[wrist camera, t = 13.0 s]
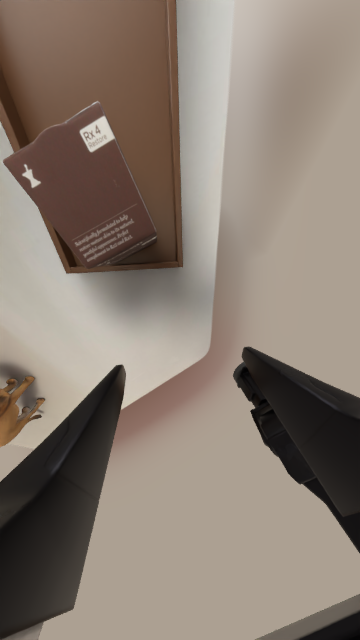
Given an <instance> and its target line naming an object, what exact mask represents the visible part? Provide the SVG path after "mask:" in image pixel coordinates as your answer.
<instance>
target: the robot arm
mask: <svg viewBox="0 0 360 640" xmlns="http://www.w3.org/2000/svg"><path fill="white" fill-rule="evenodd" d="M242 358H243V361H244V363H245V364H246V366H244V367H242V369H241V373H240V377H239V380H238V384H237V386H238V388H241V389H242V391H243V392H244V394H245V396H246V397H247V399H248V400H249V401H251V402H252V403H253V405H254V406H255V409H252V410H251V411H250V412H251V414H252V417H253V419H254V422H255V423H256V426H257V428H258V430H259V432H260V434H261V437H262V440H263V442H264V444H265V445H266V446H268V447H269V448H270V450H271V451H272V452H273V453H274V454H275V455H276V456H277V457H279V458H280V460H281V461H282V463H283V465H284V467H285V468H286V470H287V472H288V474H289V475H290V476H291V477H292V478H293V479H294V480H295V481H296V482H298V483H299V484H303V485H304V486H306V487H307V488H308V489H309V490H310V491H311V492H312V493H314V494H315V495H316V496H317V497H318V498H320V499H321V500H322V501H323V502H324V503H325V504H326V505H327V506H328V508H329V509H330V511H331V512H332V514H333V515H334V516H335V518H336V519H337V521H338V522H339V524H340V525H341V527H342V528H343V530H344V531H345V533H346V534H347V535H348V537H349V538H350V540H351V541H352V543H353V544H354V546H355V547H356V549H357V550H358V552H359V553H360V398H359V397H356V396H354V395H352V394H349V393H347V392H345V391H343V390H340V389H338V388H335V387H333V386H331V385H329V384H326V383H324V382H322V381H319V380H318V379H316V378H314V377H312V376H310V375H307V374H305V373H303V372H301V371H299V370H297V369H295V368H293V367H291V366H289V365H286V364H285V363H282V362H280V361H278V360H276V359H274V358H272V357H270V356H268V355H266V354H264V353H262V352H260V351H258V350H256V349H253V348H251V347H244V349H243V352H242ZM125 379H126V372H125V369H124V366H123V365H116V366H115V367H114V368H113V369H112V370H111V371H110V372H109V373H108V374H107V376H106V377H105V378H104V379H103V380H102V381H101V382H100V383H99V384H98V385H97V386H96V387H95V388H94V389H93V390H92V391H91V392H90V393H89V394H88V395H87V397H86V398H85V399H84V400H83V401H82V402H81V403H80V404H79V405H78V406H77V407H76V408H75V409H74V410H73V411H72V412H71V413H70V414H69V416H68V417H66V419H65V420H64V421H63V422H62V423H61V424H60V425H59V426H58V427H57V428H56V429H55V430H54V431H53V432H52V433H51V434H50V435H49V436H48V437H47V438H46V439H45V440H44V441H43V442H42V443H41V444H40V445H39V446H38V447H37V448H36V449H35V450H34V451H32V452H31V454H29V455H28V456H27V457H26V458H25V459H24V460H23V461H22V462H21V463H20V464H19V465H18V466H17V467H16V468H15V469H13V470H12V471H11V472H10V473H9V474H8V475H7V476H6V477H5V478H4V479H3V480H2V481H1V482H0V640H38V638H39V635H40V632H41V629H42V625H43V622H44V621H47V620H49V619H51V618H54V617H56V616H58V615H61V614H63V613H66V612H68V611H70V610H72V609H73V608H74V605H75V600H76V597H77V593H78V589H79V584H80V580H81V575H82V572H83V567H84V563H85V559H86V554H87V550H88V546H89V542H90V537H91V533H92V529H93V525H94V521H95V516H96V512H97V508H98V504H99V498H100V494H101V490H102V486H103V482H104V478H105V473H106V469H107V465H108V461H109V456H110V452H111V448H112V444H113V439H114V435H115V431H116V427H117V422H118V418H119V414H120V410H121V405H122V401H123V395H124V387H125ZM256 640H360V594H359V595H356V596H354V597H352V598H349V599H347V600H345V601H343V602H340V603H338V604H336V605H333V606H331V607H329V608H327V609H324V610H322V611H320V612H317V613H315V614H313V615H310V616H308V617H306V618H304V619H301V620H299V621H297V622H295V623H292V624H290V625H288V626H285V627H283V628H281V629H278V630H276V631H274V632H272V633H269V634H267V635H265V636H262V637H260V638H258V639H256Z"/></svg>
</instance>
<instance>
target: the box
mask: <svg viewBox="0 0 360 640" xmlns="http://www.w3.org/2000/svg"><path fill="white" fill-rule="evenodd" d="M3 163H4V165H5V166H6V167H7V168H8V170H9V171H10V172H11V174H12V175H13V176H14V177H15V179H16V180H17V181H18V182H19V184H20V185H21V186H22V187H23V189H24V190H25V191H26V192H27V194H28V195H29V196H30V198H31V199H32V200H33V201H34V203H35V204H36V205H37V206H38V208H39V209H40V210H41V212H42V213H43V214H44V215H45V216H46V218H47V219H48V220H49V222H50V223H51V224H52V226H53V227H54V228H55V229H56V231H57V232H58V233H59V234H60V236H61V237H62V238H63V240H64V241H65V242H66V243H67V245H68V246H69V247H70V249H71V250H72V251H73V252H74V254H75V255H76V256H77V258H78V259H79V260H80V261H81V263H82V264H83V265H84V266H85V268H86V269H91V268H94V267H99V266H105V265H110V264H115V263H118V262H120V261H122V260H123V259H126V258H127V257H129V256H132V255H134V254H135V253H137V252H139V251H141V250H143V249H145V248H147V247H148V246H150V245H152V244H154V243H156V242H157V234H156V228H155V226H154V223H153V221H152V218H151V216H150V214H149V212H148V209H147V207H146V205H145V203H144V200H143V198H142V196H141V194H140V191H139V189H138V187H137V185H136V182H135V180H134V178H133V175H132V173H131V171H130V168H129V166H128V164H127V162H126V159H125V157H124V155H123V153H122V151H121V148H120V146H119V144H118V141H117V139H116V137H115V135H114V132H113V130H112V128H111V125H110V123H109V121H108V119H107V116H106V114H105V112H104V110H103V108H102V105H101V103H100V102H98V101H97V102H95V103H93V104H92V105H91V106H88V107H87V108H85V109H84V110H82V111H80V112H79V113H78V114H76V115H74V116H73V117H72V118H70V119H69V120H67V121H65V122H64V123H62V124H59V125H54V126H51V127H49V128H47V129H45V130H44V131H43V132H41V133H40V134H39V136H38V137H37V138H36V140H35V141H34V142H32V143H30V144H29V145H27V146H26V147H24V148H22V149H20V150H19V151H17V152H15V153H13V154H12V155H10V156H9V157H7V158H6V159H4V160H3Z"/></svg>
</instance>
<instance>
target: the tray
mask: <svg viewBox="0 0 360 640" xmlns="http://www.w3.org/2000/svg"><path fill="white" fill-rule="evenodd" d="M97 101H98V102H100V103H101V105H102V108H103V110H104V112H105V114H106V116H107V119H108V121H109V123H110V125H111V128H112V130H113V132H114V135H115V137H116V139H117V141H118V144H119V146H120V148H121V151H122V153H123V155H124V157H125V159H126V162H127V164H128V166H129V168H130V171H131V173H132V175H133V178H134V180H135V182H136V185H137V187H138V189H139V191H140V194H141V196H142V198H143V200H144V203H145V205H146V207H147V209H148V212H149V214H150V216H151V218H152V221H153V223H154V226H155V228H156V234H157V242H156V243H154V244H152V245H150V246H148V247H147V248H145V249H143V250H141V251H139V252H137V253H135V254H134V255H132V256H129V257H127V258H126V259H123V260H122V261H120V262H118V263H115V264H110V265H105V266H99V267H94V268H91V269H86V268H85V266H84V265H83V264H82V263H81V261H80V260H79V259H78V258H77V256H76V255H75V254H74V252H73V251H72V250H71V249H70V247H69V246H68V245H67V243H66V242H65V241H64V240H63V238H62V237H61V236H60V234H59V233H58V232H57V231H56V229H55V228H54V227H53V226H52V224H51V223H50V222H49V220H48V219H47V218H46V216H45V215H44V214H43V213H42V212H41V210H40V209H39V208H38V209H39V211H40V213H41V215H42V218H43V220H44V222H45V225H46V227H47V229H48V232H49V234H50V236H51V239H52V241H53V243H54V246H55V248H56V250H57V253H58V255H59V257H60V259H61V262H62V264H63V266H64V269H65V271H66V273H67V274H69V273H87V272H105V271H122V270H140V269H158V268H175V267H183V253H182V214H181V175H180V136H179V96H178V57H177V18H176V0H0V121H1V123H2V125H3V128H4V130H5V132H6V135H7V137H8V139H9V141H10V144H11V146H12V148H13V151H14V153H15V152H17V151H19V150H20V149H22V148H24V147H26V146H27V145H29V144H30V143H32V142H34V141H35V140H36V138H37V137H38V136H39V134H40V133H41V132H43V131H44V130H45V129H47V128H49V127H51V126H54V125H59V124H62V123H64V122H65V121H67V120H69V119H70V118H72V117H73V116H74V115H76V114H78V113H79V112H80V111H82V110H84V109H85V108H87V107H88V106H91V105H92V104H93V103H95V102H97Z"/></svg>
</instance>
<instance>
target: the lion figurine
mask: <svg viewBox="0 0 360 640" xmlns="http://www.w3.org/2000/svg"><path fill="white" fill-rule="evenodd" d="M33 381H34V377H31V376H27V377H25V380H24V381H23V382H22V384H21V386H20V387H18V388H17V389H16V390H15V391H14V392H13V393H11V394H9V393H8V392H9V391H11V390H12V389H13V388H14V387H15V386H16V385H17V384H18V382H17V380H15V379H9V380H7V382H6V383H7V384H9V385H8V386H7V387H5V388H4V389H0V447H1V446H4V445H6V444H7V443H9V442H10V441H11V440H12V439H14V438H15V437H16V436H17V435H18V433H19V432H20V431H21V430H22V428H23V427H24V425H25V424H27V423H28V422H29V421H31V420H33V419H38V418H41V417H42V416H41V415H35V416H33V417H31V416H32V414H34V413H35V412H36V411H37V409H38V408H39V406H40V405H41V404H42V403H43V402H44V401H45V400H44V399H37V401H36V405H35V406H34V408H33V409H32V410H31V411H30V408H28V407H24V408H23V409H22V414H21V415H19V416H18V414H19V407H18V406H17V405H16V404H15V402H16V401H17V400H18V398H19V397H20V396H21V394H22V393H23V392H24V391H25V389H26V388H27V387H28V386H29V385H30V384H31V383H32V382H33ZM29 411H30V412H29ZM30 417H31V418H30ZM29 418H30V419H29Z"/></svg>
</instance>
